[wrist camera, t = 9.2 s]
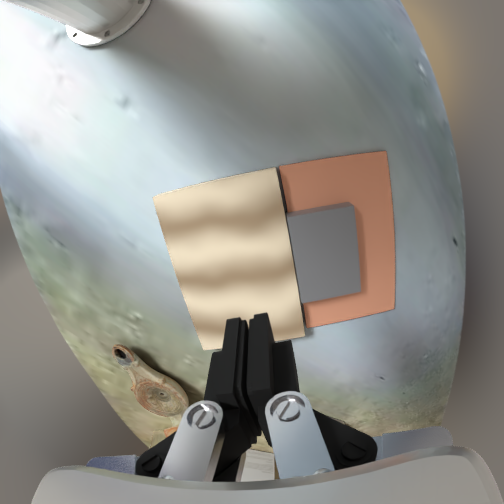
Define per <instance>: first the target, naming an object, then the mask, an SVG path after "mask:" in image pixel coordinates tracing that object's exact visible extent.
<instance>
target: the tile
mask: <svg viewBox="0 0 504 504" xmlns="http://www.w3.org/2000/svg"><path fill="white" fill-rule="evenodd" d="M285 214H286V219H287V224H288V230H289V235H290V241H291V247H292V252H293V258H294V264H295V270H296V276H297V282H298V288H299V294H300V299H301V304H302V303H307V302H312V301H318V300H323V299H328V298H333V297H338V296H343V295H347V294H352V293H357V292H361V283H360V265H359V251H358V239H357V229H356V219H355V210H354V205H352V204H351V203H350V202H344V203H338V204H333V205H327V206H321V207H315V208H310V209H304V210H299V211H293V212H288V213H285Z"/></svg>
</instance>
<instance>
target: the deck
mask: <svg viewBox="0 0 504 504" xmlns="http://www.w3.org/2000/svg"><path fill="white" fill-rule="evenodd" d="M153 201H154V205H155V208H156V212H157V215H158V219H159V222H160V225H161V229H162V232H163V235H164V239H165V242H166V245H167V248H168V252H169V255H170V258H171V261H172V264H173V267H174V270H175V273H176V276H177V279H178V282H179V285H180V288H181V291H182V294H183V296H184V299H185V302H186V305H187V308H188V310H189V313H190V316H191V318H192V321H193V324H194V326H195V329H196V332H197V334H198V337H199V339H200V342H201V344H202V347H203V349H204V350H211V349H220V348H222V346H223V339H224V333H225V326H226V320H227V319H231V318H237V317H240V318H241V319H242V320H246V321H247V324H248V327H249V319H252V318H254V315H255V314H261V313H266V312H267V313H268V316H269V320H270V324H271V328H272V332H273V336H274V340H275V341H280V340H286V339H292V338H298V337H303V336H305V332H304V325H303V318H302V311H301V305H300V299H299V292H298V286H297V280H296V274H295V268H294V262H293V256H292V251H291V245H290V239H289V234H288V228H287V223H286V217H285V212H284V207H283V202H282V197H281V191H280V186H279V181H278V176H277V172H276V168H275V167H273V168H267V169H262V170H257V171H252V172H248V173H243V174H238V175H234V176H229V177H225V178H220V179H216V180H212V181H208V182H203V183H199V184H195V185H191V186H187V187H183V188H180V189H176V190H172V191H168V192H165V193H161V194H158V195H156V196H154V197H153Z"/></svg>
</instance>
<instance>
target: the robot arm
mask: <svg viewBox="0 0 504 504" xmlns="http://www.w3.org/2000/svg"><path fill="white" fill-rule="evenodd" d="M3 1H6V2H9V3H12V4H15V5H17V6H20V7H23V8H26V9H28V10H31V11H34V12H36V13H39V14H41V15H44V16H46V17H49V18H51V19H53V20H56V21H58V22H60V23H62V24H65V25H66V29H67V34H68V36H69V38H70V39H71V40H72V41H74V42H75V43H77V44H80V45H82V46H98V45H101V44H104V43H107V42H109V41H111V40H113V39H115V38H117V37H118V36H120V35H122V34H123V33H124V32H126V31H127V30H128V29H130V28H131V27H132V26H133V25H134V24H135V23H136V22H137V21H138V20H139V19H140V17H141V16H142V15H143V14H144V12H145V11H146V9H147V8H148V6H149V4H150V2H151V0H3ZM262 431H263V433H264V436H265V438H266V440H267V442H268V445H270V446H271V447H272V448H273V451H274V455H275V460H276V464H277V469H278V473H279V477H280V479H277V480H265V481H248V482H241V478H242V473H243V469H244V464H245V460H246V451H247V450H248V449H249V448H250V447H251V444H256V443H257V436H261V433H262ZM31 504H504V503H503V500H502V497H501V495H500V492H499V489H498V486H497V484H496V482H495V479H494V477H493V476H492V473H491V471H490V470H489V468H488V466H487V464H486V463H485V461H484V460H483V459H482V458H481V457H480V455H479V454H478V453H477V452H475V451H474V450H472V449H470V448H466V447H460V446H453V441H452V436H451V434H450V432H449V431H448V430H447V429H446V428H444V427H441V426H433V427H427V428H422V429H416V430H409V431H402V432H394V433H386V434H382V436H378V437H370V436H369V435H367V434H365V433H363V432H360V431H358V430H356V429H354V428H351V427H349V426H347V425H345V424H343V423H340V422H338V421H336V420H334V419H332V418H330V417H328V416H326V415H324V414H322V413H320V412H318V411H316V410H314V409H312V407H311V405H310V402H309V400H308V399H307V397H306V396H304V395H303V394H302V393H300V391H299V384H298V376H297V369H296V363H295V357H294V352H293V347H292V342H291V340H289V341H284V342H278V343H275V340H274V336H273V332H272V328H271V324H270V320H269V316H268V313H267V312H266V313H261V314H255V315H254V318H252V319H249V327H248V324H247V321H246V320H242V319H241V318H240V317H237V318H231V319H227V320H226V326H225V333H224V339H223V346H222V351H219V352H213V354H212V357H211V363H210V368H209V374H208V379H207V385H206V390H205V396H204V401H200V402H197V403H194V404H193V405H191V406H190V407H189V408H188V409H187V410H186V411H185V413H184V414H183V417H182V419H181V422H180V424H179V427H178V429H177V431H175V432H174V433H172V434H171V435H170V436H168V437H167V438H165V439H164V440H162V441H161V442H159V443H158V444H156V445H155V446H153V447H152V448H150V449H149V450H147V451H146V452H144V453H143V454H142V455H141V456H140V457H137V456H136V455H126V456H111V457H96V458H93V459H91V460H90V461H89V462H88V463H87V464H86V466H65V467H59V468H56V469H53V470H51V471H49V472H48V473H47V474H46V475H45V477H44V478H43V479H42V481H41V483H40V485H39V486H38V489H37V491H36V493H35V495H34V497H33V500H32V503H31Z"/></svg>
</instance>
